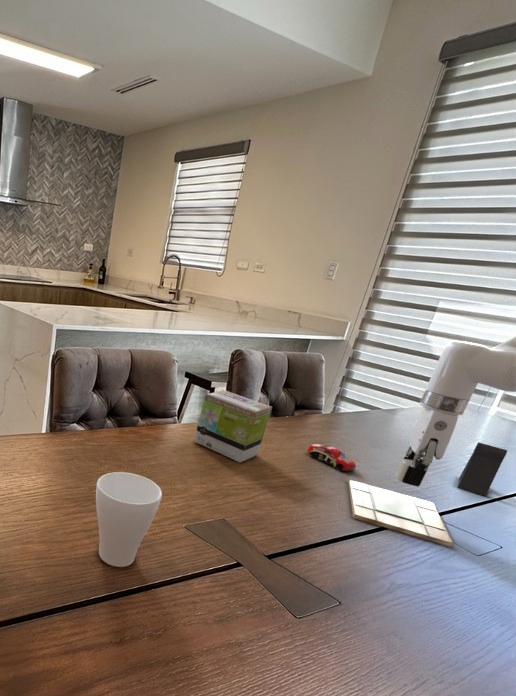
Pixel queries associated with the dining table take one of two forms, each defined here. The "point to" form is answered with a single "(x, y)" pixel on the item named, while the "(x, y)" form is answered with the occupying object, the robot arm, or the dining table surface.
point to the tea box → (232, 425)
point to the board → (398, 512)
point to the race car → (331, 457)
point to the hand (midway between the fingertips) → (408, 478)
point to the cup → (124, 514)
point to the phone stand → (481, 468)
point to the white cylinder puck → (403, 469)
